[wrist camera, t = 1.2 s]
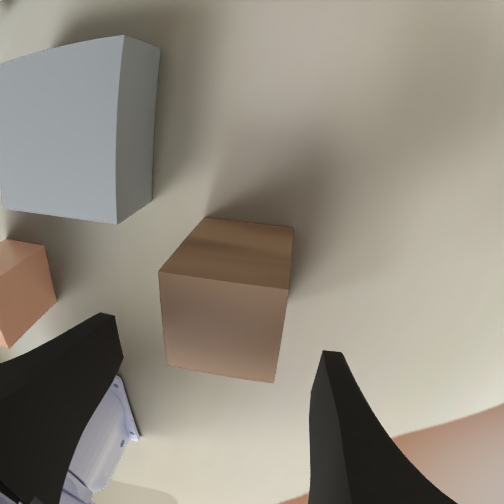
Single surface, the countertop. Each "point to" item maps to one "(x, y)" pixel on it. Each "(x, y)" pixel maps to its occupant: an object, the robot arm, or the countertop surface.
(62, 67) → the slate base block
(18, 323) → the terracotta block
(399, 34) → the countertop surface
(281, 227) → the walnut block
